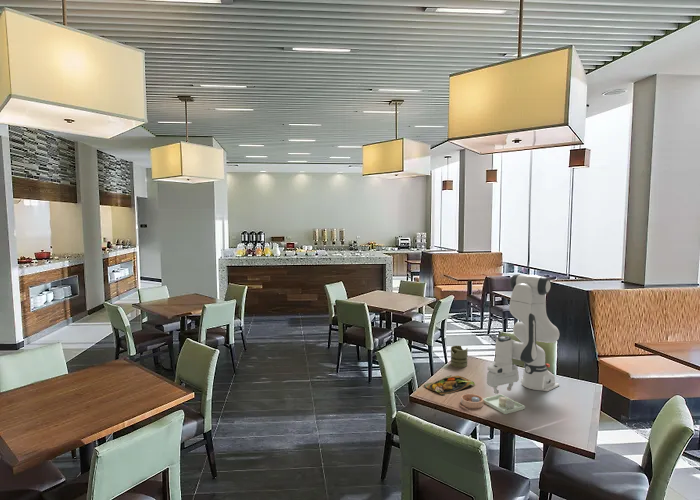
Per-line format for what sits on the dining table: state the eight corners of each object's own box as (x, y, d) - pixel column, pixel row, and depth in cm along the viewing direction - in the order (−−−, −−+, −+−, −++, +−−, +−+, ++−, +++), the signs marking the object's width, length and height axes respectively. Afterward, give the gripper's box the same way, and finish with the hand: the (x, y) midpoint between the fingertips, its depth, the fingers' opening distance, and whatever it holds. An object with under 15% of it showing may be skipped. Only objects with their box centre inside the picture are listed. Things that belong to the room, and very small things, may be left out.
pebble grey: (509, 406, 219) (510, 399, 219) (515, 409, 216) (515, 402, 216) (504, 408, 218) (504, 401, 218) (510, 411, 214) (510, 404, 214)
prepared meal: (444, 391, 233) (422, 381, 248) (444, 397, 234) (422, 386, 249) (476, 382, 249) (453, 373, 264) (476, 387, 249) (453, 378, 264)
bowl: (472, 398, 231) (472, 392, 231) (487, 406, 221) (487, 400, 221) (456, 402, 226) (456, 396, 226) (471, 410, 216) (471, 404, 216)
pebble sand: (502, 402, 224) (502, 396, 224) (508, 405, 220) (508, 399, 220) (497, 404, 222) (497, 397, 222) (502, 407, 219) (503, 400, 218)
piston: (459, 351, 278) (447, 347, 288) (459, 368, 279) (447, 363, 289) (471, 348, 284) (458, 344, 294) (470, 365, 285) (458, 360, 295)
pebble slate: (475, 403, 224) (475, 396, 224) (480, 406, 220) (480, 399, 220) (470, 404, 222) (470, 397, 222) (475, 407, 219) (475, 400, 219)
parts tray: (500, 397, 232) (500, 394, 232) (524, 409, 217) (524, 405, 217) (481, 402, 226) (481, 398, 226) (505, 415, 211) (505, 411, 211)
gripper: (512, 362, 227) (512, 386, 228) (485, 367, 218) (484, 392, 219) (521, 365, 221) (521, 390, 222) (493, 371, 212) (493, 397, 213)
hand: (502, 391), depth 220 cm, fingers open, 8 cm apart
